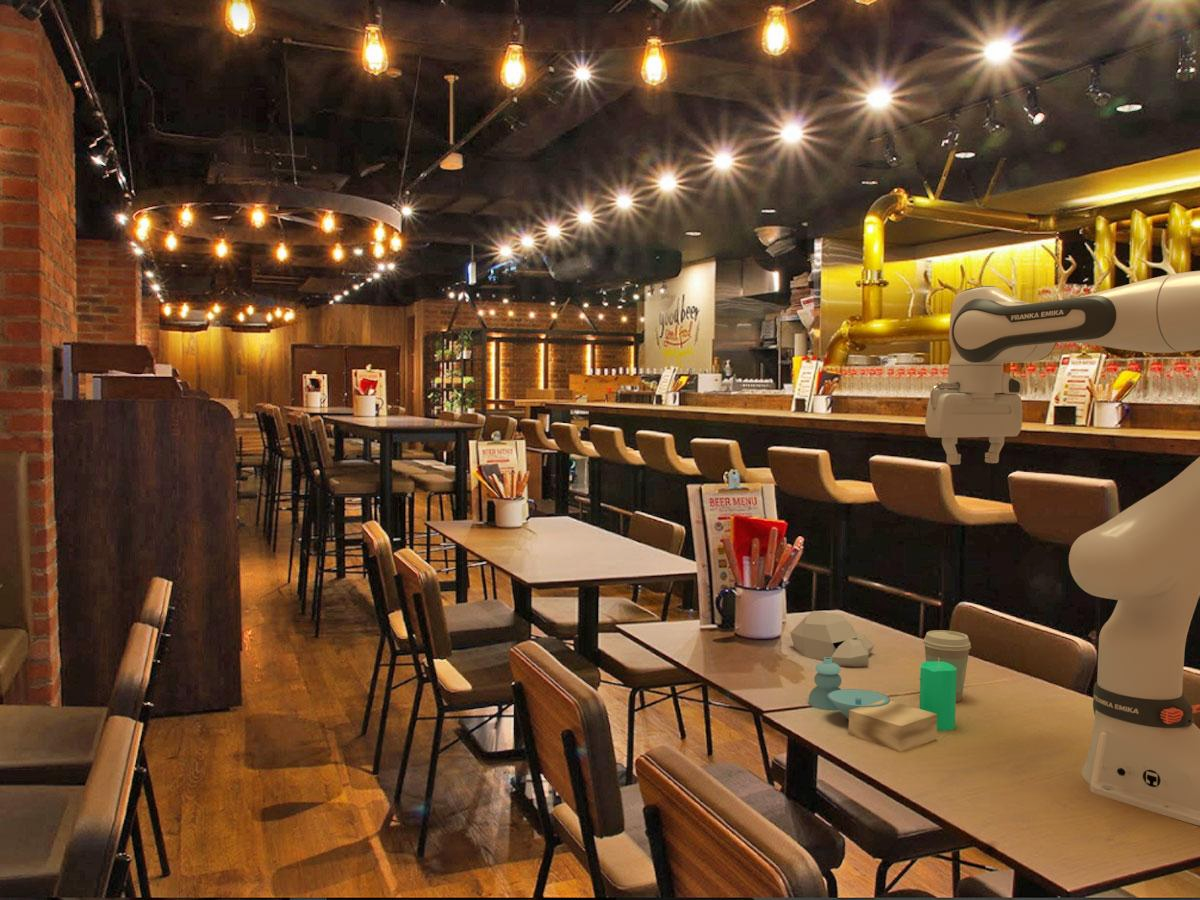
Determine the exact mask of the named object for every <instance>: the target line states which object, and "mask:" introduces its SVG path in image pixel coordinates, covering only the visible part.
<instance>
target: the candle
mask: <svg viewBox="0 0 1200 900" xmlns="http://www.w3.org/2000/svg"><path fill="white" fill-rule="evenodd" d="M956 671H957V668H956V667H954V666H953V665H951V664H949V663H946V662H939V657H938V662H926V661H924V662H921V663H920V675H919V676H920V678H919V679H920V680H919V681H920V682H919V709H921V710H925V711H928V712H932V713H935V714H937V731H941V730H943V731H945V732H946V731H952V730H955V728H956V704H957V702H956Z"/></svg>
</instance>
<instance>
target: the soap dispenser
mask: <svg viewBox="0 0 1200 900" xmlns="http://www.w3.org/2000/svg"><path fill="white" fill-rule="evenodd" d="M814 669H815V672H817V673H816V674H815V675H814V683H815V685H816V686H815V687H814V688H812V690H811V691H810V693H809V695H808V705H810V706H811V707H813V708H815V709H819V710H823V711H824V710H825V711H833V712H834V711H840V712H841V713H842V715H844V716H845V719H847V720H848V721H849V710H852V709H855V708H858V707H876V706H882V705H885V704H887V703H889V701H891V699H890V697H889V696H887V695H886V694H883V693H880V692H878V691H873V690H870V689H869V690H867V689H859V688H854V689H853V688H843V689H841V688H840V686H841V685H842V677H841V675H840V673H841V671H842V670H841V666H838V665H837V664H835V663H834V662H832V658H831V657H824V660H823V661H822V662H819V663H817V664H816V665H815V667H814ZM884 699H885V701H884V702H883V703H880V704H874V705H868V704H871V703H874V702H878V701H881V700H884Z"/></svg>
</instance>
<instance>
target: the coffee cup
mask: <svg viewBox="0 0 1200 900" xmlns="http://www.w3.org/2000/svg"><path fill="white" fill-rule="evenodd" d="M922 644H923V645H924V652H925V662H938V657H939V662H946V663H949V664H951V665H953V666H954V667H956V668H957V671H956V703H958V702H960V701H962V699H963V694H964V693H963V692H964V687H965V680H966V674H967V666H968V660H969V654H970V649H971V648H972V646H971V641H970V639H969V636H968V635H967V634H965V633H963V632H959V631H953V630H944V629H943V630H941V629H940V630H937V629H935V630H928V631H927V632H926V634H925V636H924V638H923V642H922Z"/></svg>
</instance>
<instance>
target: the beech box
mask: <svg viewBox="0 0 1200 900" xmlns="http://www.w3.org/2000/svg"><path fill="white" fill-rule="evenodd" d="M884 701H885V699H884V700H881V701H878V702H874V703H871V704H868V705H874V704H880V703H883V702H884ZM937 733H938V730H937V714H935V713H932V712H928V711H925V710H921V709H920V708H919V707H918V708H917V707H915V706H911V705H907V704H903V703H900V702H896V701H892V700H890V701H889V703H887V704H885V705H882V706H876V707H858V708H855V709H852V710H849V720H848V734H849V735H851V736H855V737H857V738H859V739H863V740H865V741H869V742H871V743H874V744H877V745H880V746H883V747H886V748H888V749H892V750H893V751H897V752H899V753H900V752H904V751H907V750H910V749H913V748H915V747H919V746H923V745H925V744H928V743H932V742H934V741H938V739H937V735H938V734H937Z"/></svg>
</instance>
